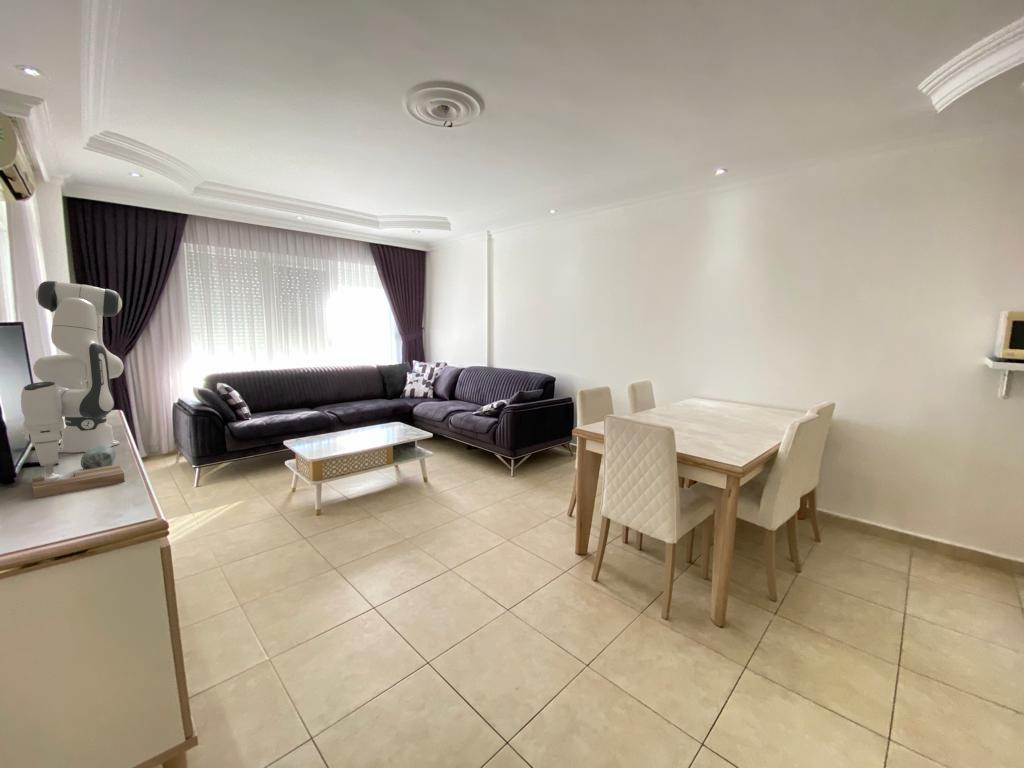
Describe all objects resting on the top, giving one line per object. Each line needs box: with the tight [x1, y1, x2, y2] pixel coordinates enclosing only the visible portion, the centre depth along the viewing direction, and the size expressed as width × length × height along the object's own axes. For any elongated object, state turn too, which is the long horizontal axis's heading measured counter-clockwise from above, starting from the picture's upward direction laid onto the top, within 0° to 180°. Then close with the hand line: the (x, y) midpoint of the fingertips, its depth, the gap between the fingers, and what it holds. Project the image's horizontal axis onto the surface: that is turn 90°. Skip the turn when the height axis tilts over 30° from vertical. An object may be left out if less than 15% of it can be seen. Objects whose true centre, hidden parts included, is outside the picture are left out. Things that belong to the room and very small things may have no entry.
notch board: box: [31, 464, 125, 499], centre depth 136 cm, size 12×20×3 cm, turn 139°
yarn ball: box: [80, 446, 117, 470], centre depth 150 cm, size 14×10×10 cm
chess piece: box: [42, 472, 62, 482], centre depth 139 cm, size 5×5×10 cm
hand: (49, 472), depth 139 cm, fingers closed on chess piece
